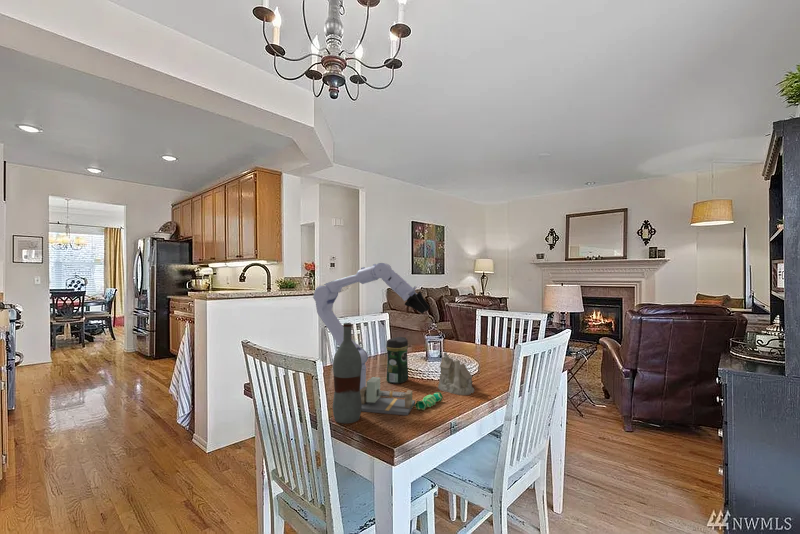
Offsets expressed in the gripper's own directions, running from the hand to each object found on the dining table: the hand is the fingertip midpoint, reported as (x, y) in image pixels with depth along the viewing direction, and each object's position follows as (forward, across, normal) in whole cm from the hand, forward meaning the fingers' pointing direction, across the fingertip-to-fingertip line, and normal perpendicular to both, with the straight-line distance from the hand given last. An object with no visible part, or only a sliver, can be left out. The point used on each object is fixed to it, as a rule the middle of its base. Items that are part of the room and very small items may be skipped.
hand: (426, 310), depth 141 cm
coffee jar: (+9, +17, +35) cm, 40 cm away
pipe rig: (+12, -14, +32) cm, 37 cm away
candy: (+23, -9, +23) cm, 34 cm away
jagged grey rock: (+29, +14, +18) cm, 37 cm away
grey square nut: (+8, -14, +33) cm, 37 cm away
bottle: (+6, -27, +38) cm, 47 cm away
